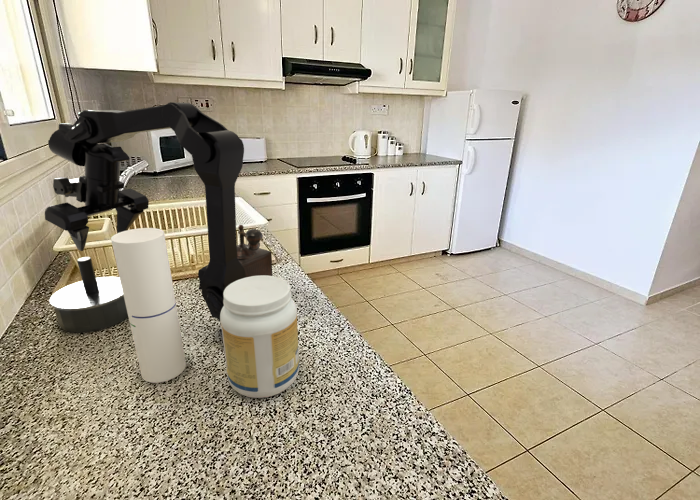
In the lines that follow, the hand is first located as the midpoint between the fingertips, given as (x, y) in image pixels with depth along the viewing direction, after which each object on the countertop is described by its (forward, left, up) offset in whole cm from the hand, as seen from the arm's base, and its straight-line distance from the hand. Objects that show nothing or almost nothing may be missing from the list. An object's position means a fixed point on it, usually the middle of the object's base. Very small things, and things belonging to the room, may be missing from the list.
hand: (101, 243), depth 80 cm
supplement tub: (-39, -23, -16) cm, 48 cm away
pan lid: (-3, +3, -10) cm, 11 cm away
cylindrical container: (-29, -8, -16) cm, 34 cm away
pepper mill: (-6, -30, -16) cm, 34 cm away
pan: (-3, +3, -15) cm, 16 cm away
